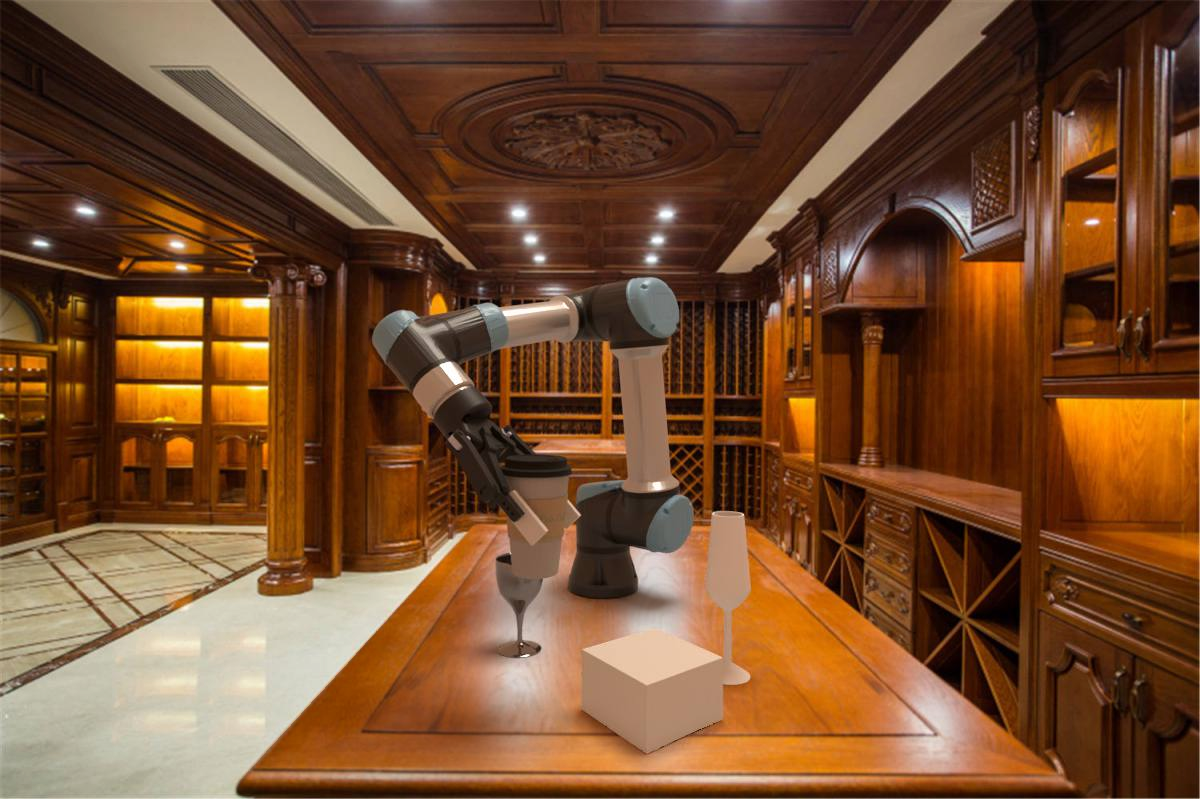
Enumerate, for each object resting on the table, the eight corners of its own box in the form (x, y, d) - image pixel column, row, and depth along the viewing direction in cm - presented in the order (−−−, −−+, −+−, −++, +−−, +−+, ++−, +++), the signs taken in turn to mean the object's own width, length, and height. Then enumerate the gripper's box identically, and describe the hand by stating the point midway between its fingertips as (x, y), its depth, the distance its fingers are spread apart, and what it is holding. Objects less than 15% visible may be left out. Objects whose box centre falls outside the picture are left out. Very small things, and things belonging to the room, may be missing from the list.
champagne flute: (741, 689, 89) (742, 520, 89) (697, 677, 93) (698, 515, 93) (756, 671, 95) (757, 512, 95) (714, 661, 98) (715, 508, 98)
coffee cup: (559, 586, 76) (561, 463, 76) (486, 580, 78) (488, 460, 78) (579, 565, 85) (580, 455, 85) (513, 560, 87) (515, 452, 87)
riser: (581, 709, 83) (581, 649, 83) (654, 682, 91) (655, 627, 91) (646, 754, 73) (646, 685, 73) (723, 719, 81) (723, 657, 81)
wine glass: (551, 643, 106) (551, 554, 106) (531, 661, 98) (531, 566, 98) (509, 637, 108) (509, 550, 108) (486, 654, 101) (486, 561, 101)
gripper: (480, 419, 97) (573, 530, 92) (383, 426, 77) (494, 570, 71) (511, 385, 95) (607, 497, 90) (419, 383, 75) (537, 528, 69)
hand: (557, 529), depth 81 cm, fingers closed on coffee cup, 9 cm apart
